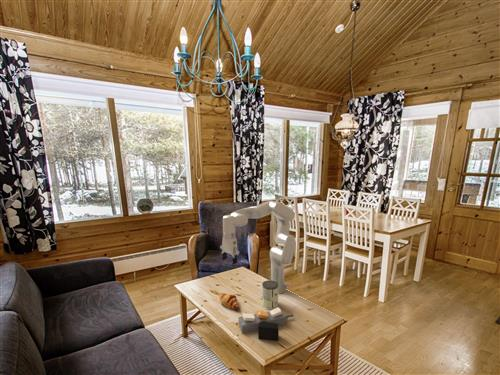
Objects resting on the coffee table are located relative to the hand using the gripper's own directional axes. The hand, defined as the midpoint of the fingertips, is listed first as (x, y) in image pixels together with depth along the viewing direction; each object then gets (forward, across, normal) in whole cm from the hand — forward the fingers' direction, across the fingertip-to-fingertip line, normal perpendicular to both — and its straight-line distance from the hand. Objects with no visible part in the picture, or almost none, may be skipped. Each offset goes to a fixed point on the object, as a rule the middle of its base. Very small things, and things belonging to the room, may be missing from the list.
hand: (229, 261), depth 154 cm
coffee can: (+30, -17, -19) cm, 40 cm away
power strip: (+30, -28, -3) cm, 41 cm away
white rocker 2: (+24, -30, -8) cm, 40 cm away
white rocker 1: (+24, -22, +6) cm, 33 cm away
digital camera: (+30, -35, +4) cm, 47 cm away
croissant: (+30, +3, -2) cm, 31 cm away
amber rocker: (+24, -26, -1) cm, 36 cm away
